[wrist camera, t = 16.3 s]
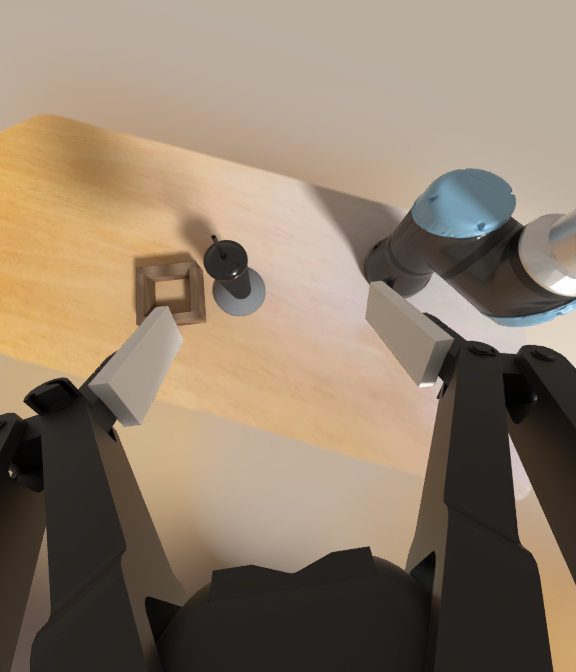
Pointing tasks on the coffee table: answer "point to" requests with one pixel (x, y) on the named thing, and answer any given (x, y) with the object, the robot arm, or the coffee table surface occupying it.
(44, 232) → the coffee table surface
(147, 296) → the wooden square tray
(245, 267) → the drinking cup
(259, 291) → the coaster
